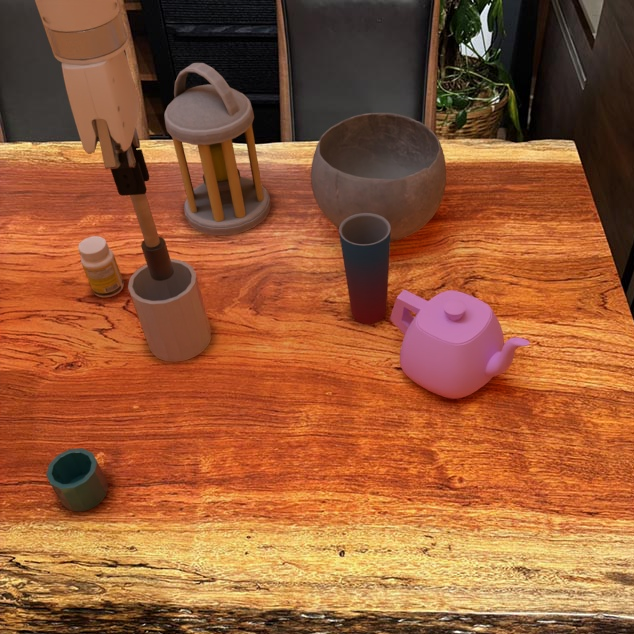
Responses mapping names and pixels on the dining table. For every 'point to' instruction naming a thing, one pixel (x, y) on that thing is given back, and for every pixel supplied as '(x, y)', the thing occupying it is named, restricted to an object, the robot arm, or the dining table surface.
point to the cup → (366, 264)
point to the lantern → (216, 154)
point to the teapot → (451, 342)
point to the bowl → (380, 171)
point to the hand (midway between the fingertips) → (134, 186)
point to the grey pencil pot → (171, 312)
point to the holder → (77, 479)
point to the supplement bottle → (100, 267)
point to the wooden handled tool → (151, 239)
